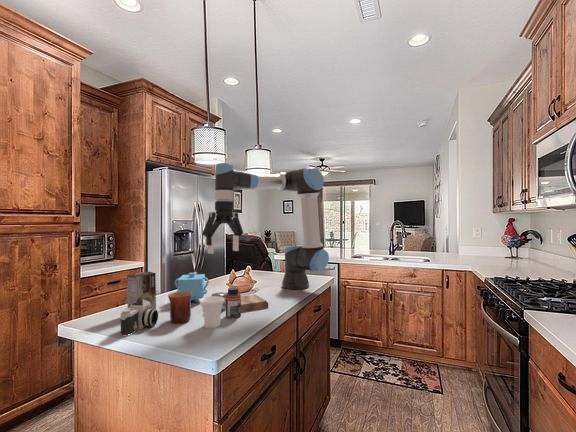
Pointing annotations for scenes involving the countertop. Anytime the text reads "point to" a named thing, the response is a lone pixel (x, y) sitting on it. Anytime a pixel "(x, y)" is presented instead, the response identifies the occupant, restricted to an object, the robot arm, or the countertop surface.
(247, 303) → the stand
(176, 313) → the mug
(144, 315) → the camera
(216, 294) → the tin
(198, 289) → the teapot
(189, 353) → the countertop surface
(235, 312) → the supplement bottle
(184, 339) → the countertop surface
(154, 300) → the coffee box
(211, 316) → the cup
